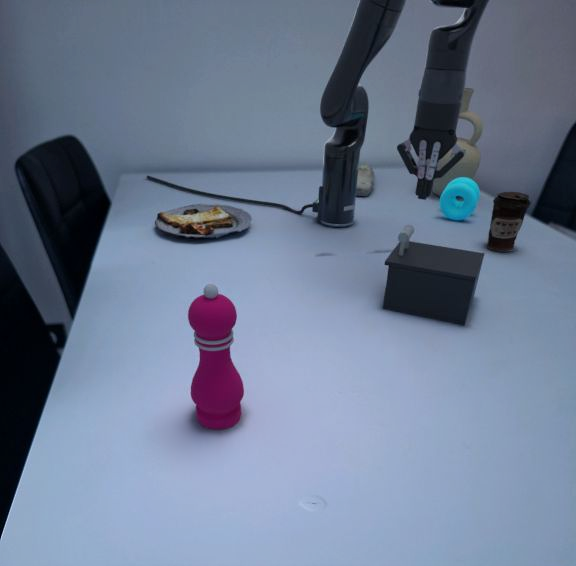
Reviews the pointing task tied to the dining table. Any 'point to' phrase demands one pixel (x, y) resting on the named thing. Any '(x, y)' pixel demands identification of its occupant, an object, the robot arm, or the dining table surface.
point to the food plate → (203, 220)
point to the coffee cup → (507, 220)
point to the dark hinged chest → (429, 295)
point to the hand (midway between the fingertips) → (422, 198)
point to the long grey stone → (364, 179)
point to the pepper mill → (215, 361)
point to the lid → (434, 258)
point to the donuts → (459, 208)
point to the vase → (472, 157)
